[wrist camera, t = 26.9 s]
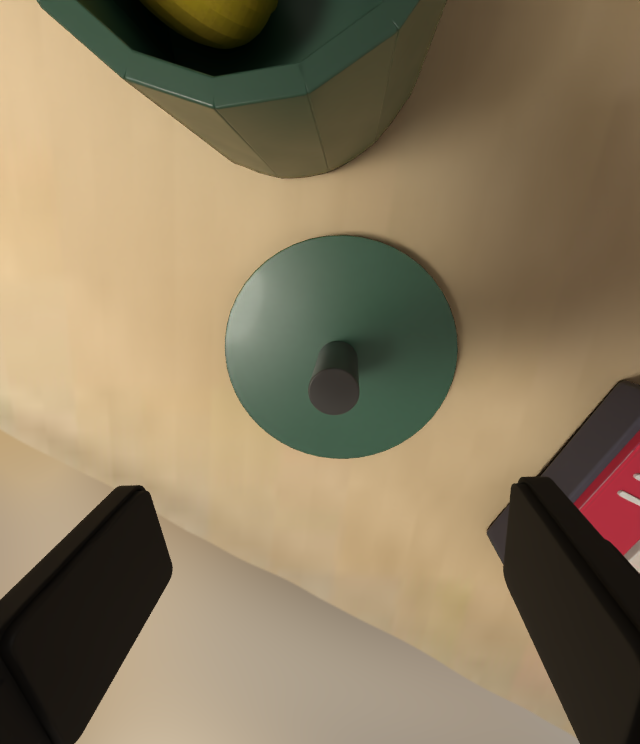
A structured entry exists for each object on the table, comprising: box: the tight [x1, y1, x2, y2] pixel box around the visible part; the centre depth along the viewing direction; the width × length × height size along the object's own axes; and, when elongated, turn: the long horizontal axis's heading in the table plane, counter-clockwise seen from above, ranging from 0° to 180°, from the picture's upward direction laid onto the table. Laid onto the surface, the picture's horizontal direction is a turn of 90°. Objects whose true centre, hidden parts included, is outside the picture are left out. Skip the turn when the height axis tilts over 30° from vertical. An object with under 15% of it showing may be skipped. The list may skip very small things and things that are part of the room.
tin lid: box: [225, 235, 458, 459], centre depth 20 cm, size 15×15×7 cm
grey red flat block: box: [487, 381, 640, 574], centre depth 23 cm, size 11×4×15 cm
